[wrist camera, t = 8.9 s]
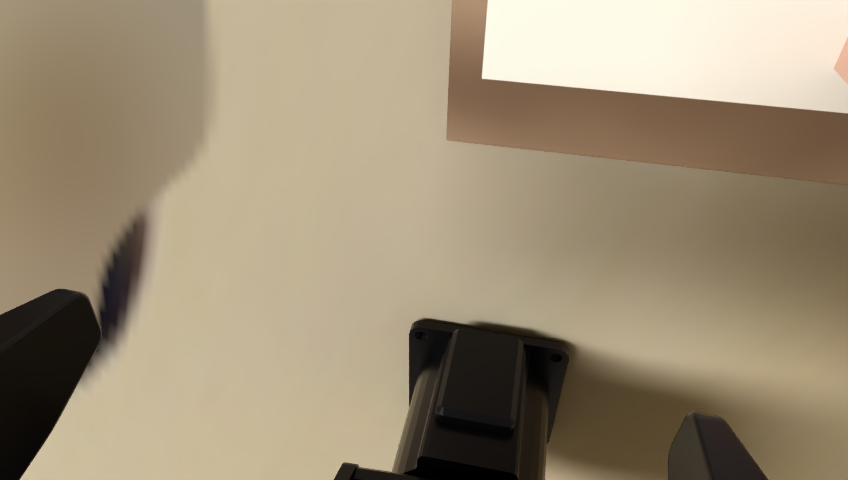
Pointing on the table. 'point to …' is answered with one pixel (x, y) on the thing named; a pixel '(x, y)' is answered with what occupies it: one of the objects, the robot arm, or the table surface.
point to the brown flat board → (635, 120)
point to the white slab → (677, 48)
